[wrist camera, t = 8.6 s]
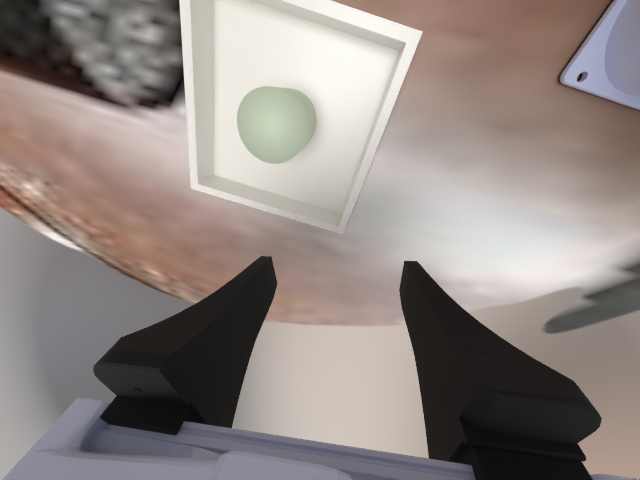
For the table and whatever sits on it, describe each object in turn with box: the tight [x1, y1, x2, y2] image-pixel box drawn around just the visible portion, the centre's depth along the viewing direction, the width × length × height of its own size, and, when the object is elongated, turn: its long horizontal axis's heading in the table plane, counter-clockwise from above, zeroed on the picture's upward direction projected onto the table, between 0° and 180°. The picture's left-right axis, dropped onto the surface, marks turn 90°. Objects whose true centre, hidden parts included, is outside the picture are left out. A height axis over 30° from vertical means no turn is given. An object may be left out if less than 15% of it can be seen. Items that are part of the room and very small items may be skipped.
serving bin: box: [180, 0, 422, 235], centre depth 16 cm, size 13×13×3 cm
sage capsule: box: [237, 86, 317, 164], centre depth 15 cm, size 4×4×5 cm
